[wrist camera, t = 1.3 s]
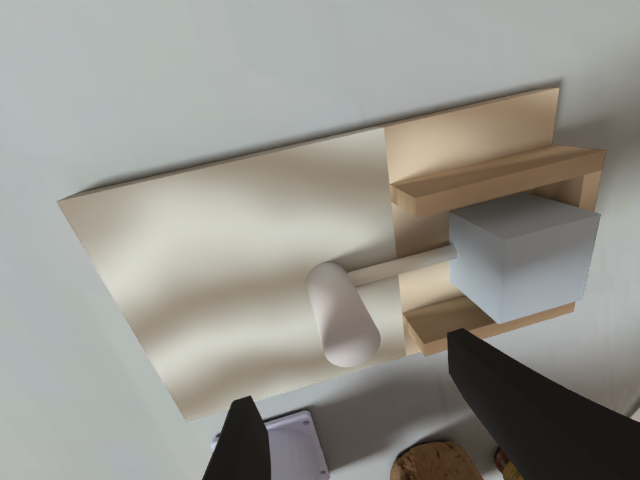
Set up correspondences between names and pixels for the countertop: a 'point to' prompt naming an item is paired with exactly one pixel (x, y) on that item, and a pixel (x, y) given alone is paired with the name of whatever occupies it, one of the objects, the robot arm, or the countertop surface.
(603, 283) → the countertop surface
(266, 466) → the robot arm
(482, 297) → the block
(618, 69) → the countertop surface
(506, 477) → the sauce bottle
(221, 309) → the shelf lane
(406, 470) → the block
